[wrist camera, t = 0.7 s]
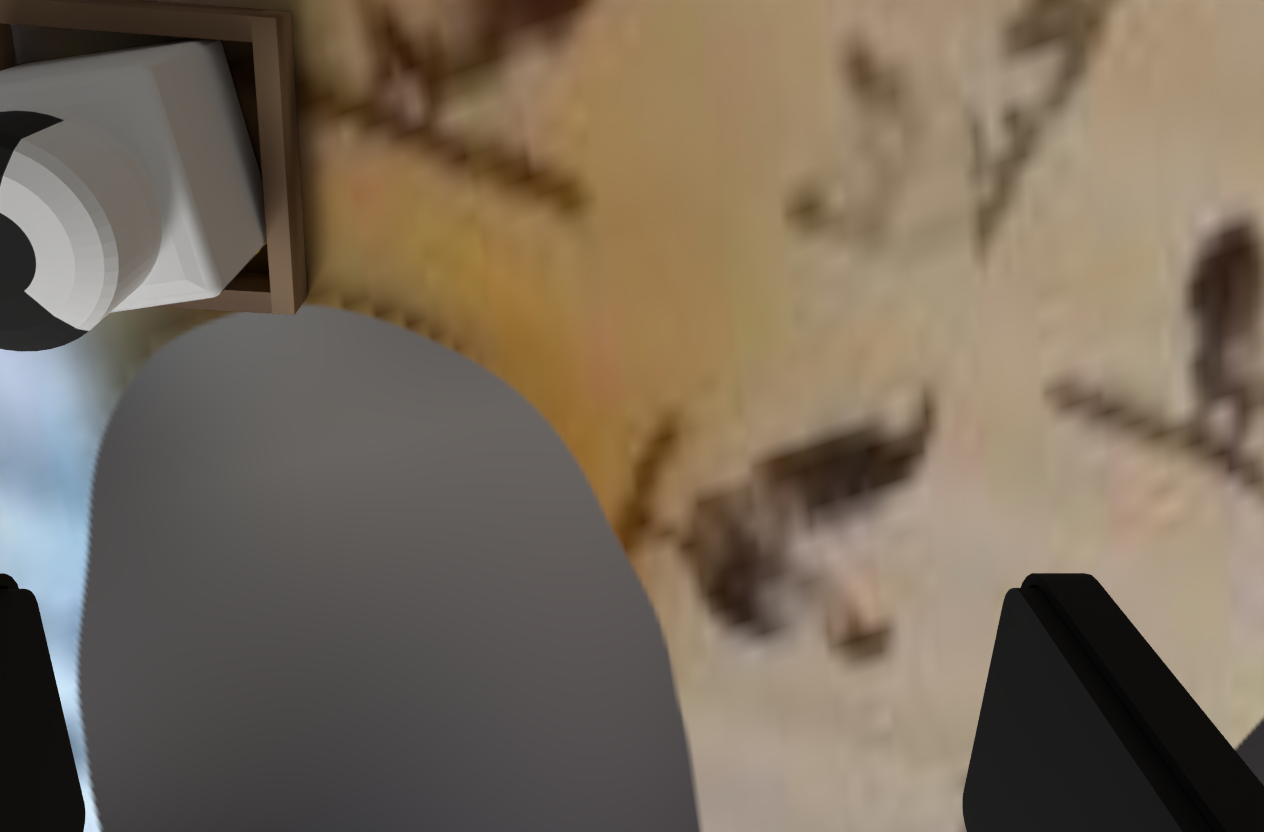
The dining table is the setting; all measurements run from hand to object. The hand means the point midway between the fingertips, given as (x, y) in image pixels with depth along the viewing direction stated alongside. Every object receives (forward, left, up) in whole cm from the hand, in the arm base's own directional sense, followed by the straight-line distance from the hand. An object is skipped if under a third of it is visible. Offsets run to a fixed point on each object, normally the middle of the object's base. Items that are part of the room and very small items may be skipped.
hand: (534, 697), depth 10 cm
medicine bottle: (+2, -15, -31) cm, 35 cm away
